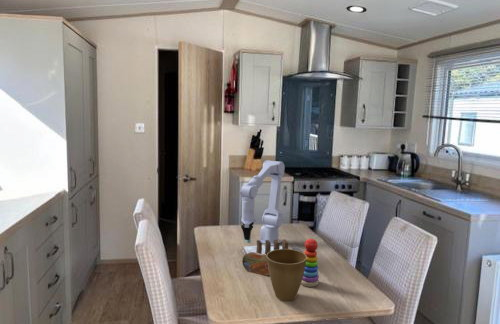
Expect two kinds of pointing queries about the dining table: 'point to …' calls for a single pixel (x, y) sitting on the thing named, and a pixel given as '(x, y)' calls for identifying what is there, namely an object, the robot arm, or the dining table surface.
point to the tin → (256, 263)
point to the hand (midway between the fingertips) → (247, 237)
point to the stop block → (296, 248)
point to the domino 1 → (248, 240)
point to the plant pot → (286, 272)
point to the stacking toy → (310, 264)
